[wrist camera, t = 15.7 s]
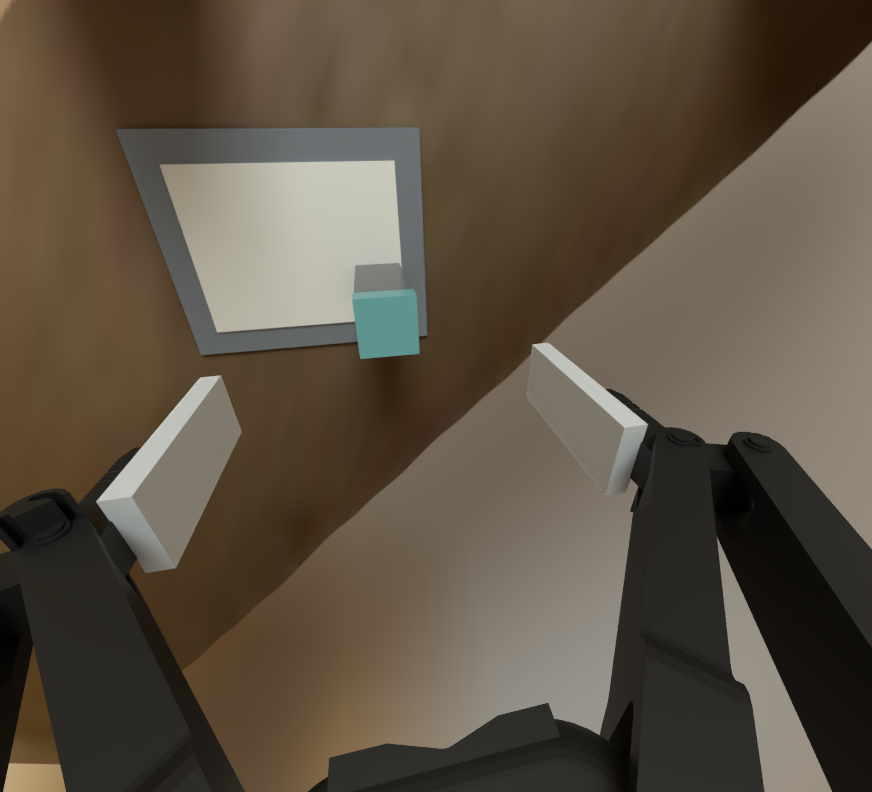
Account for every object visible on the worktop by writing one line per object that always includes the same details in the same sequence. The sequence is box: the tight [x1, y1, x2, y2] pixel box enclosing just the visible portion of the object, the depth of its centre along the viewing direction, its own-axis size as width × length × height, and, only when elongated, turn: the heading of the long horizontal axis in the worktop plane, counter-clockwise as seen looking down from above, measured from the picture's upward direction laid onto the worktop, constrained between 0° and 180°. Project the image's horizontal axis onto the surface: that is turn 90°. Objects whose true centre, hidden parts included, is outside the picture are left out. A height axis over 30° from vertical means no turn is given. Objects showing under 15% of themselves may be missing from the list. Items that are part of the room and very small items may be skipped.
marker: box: [352, 263, 419, 359], centre depth 26 cm, size 4×4×11 cm
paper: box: [115, 128, 427, 355], centre depth 29 cm, size 20×16×1 cm
